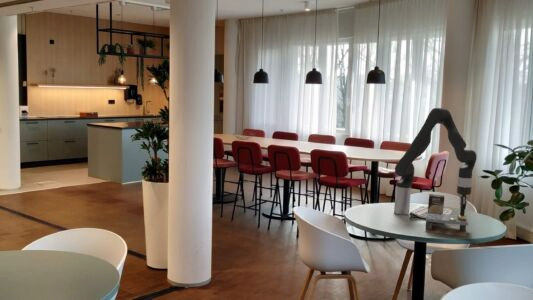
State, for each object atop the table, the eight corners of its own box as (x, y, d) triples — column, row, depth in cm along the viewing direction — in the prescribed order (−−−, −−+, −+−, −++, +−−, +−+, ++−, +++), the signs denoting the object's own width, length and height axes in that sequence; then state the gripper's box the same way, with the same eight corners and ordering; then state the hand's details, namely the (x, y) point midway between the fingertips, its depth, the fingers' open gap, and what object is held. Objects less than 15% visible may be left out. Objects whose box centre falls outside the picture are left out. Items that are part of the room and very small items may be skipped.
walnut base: (425, 231, 305) (426, 221, 304) (425, 224, 321) (426, 215, 321) (467, 236, 299) (468, 226, 298) (465, 229, 315) (466, 219, 314)
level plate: (426, 221, 305) (426, 215, 304) (426, 214, 320) (427, 209, 320) (468, 225, 299) (468, 219, 298) (466, 219, 314) (466, 213, 313)
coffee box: (426, 221, 328) (428, 195, 326) (426, 219, 334) (428, 193, 332) (442, 223, 325) (444, 197, 323) (442, 221, 331) (444, 195, 329)
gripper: (456, 183, 312) (454, 212, 314) (458, 186, 299) (455, 217, 301) (470, 184, 310) (468, 213, 312) (472, 188, 297) (470, 219, 299)
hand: (462, 215), depth 307 cm, fingers closed
